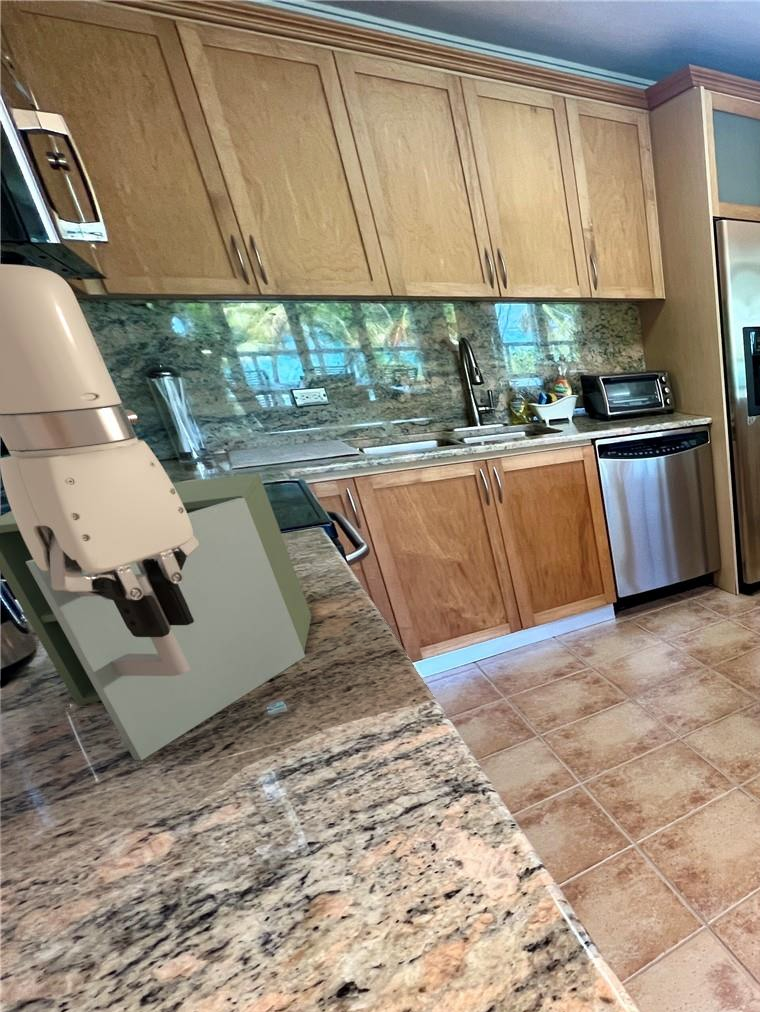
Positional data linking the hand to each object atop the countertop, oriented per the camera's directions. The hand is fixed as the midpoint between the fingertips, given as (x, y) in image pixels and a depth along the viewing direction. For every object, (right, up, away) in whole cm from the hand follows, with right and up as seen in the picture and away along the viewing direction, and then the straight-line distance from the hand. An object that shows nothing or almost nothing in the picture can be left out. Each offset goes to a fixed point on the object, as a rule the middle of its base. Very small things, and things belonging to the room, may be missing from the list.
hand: (164, 628), depth 60 cm
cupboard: (-18, -5, +25) cm, 31 cm away
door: (-2, -9, +13) cm, 16 cm away
